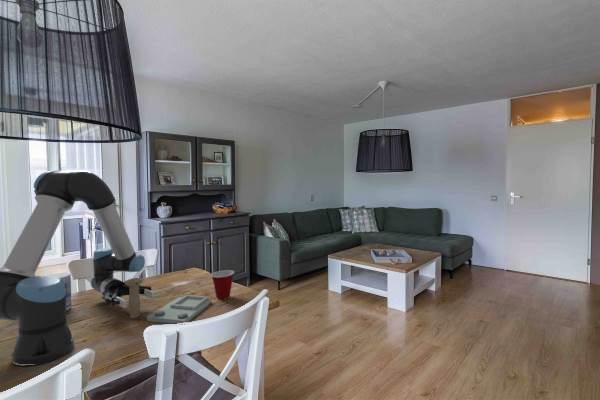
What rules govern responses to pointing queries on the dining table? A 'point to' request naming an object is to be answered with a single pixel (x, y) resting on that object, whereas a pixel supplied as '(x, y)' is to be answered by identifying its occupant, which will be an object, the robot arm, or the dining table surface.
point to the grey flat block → (180, 309)
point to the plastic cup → (222, 283)
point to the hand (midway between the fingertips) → (139, 299)
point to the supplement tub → (67, 281)
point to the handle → (134, 296)
